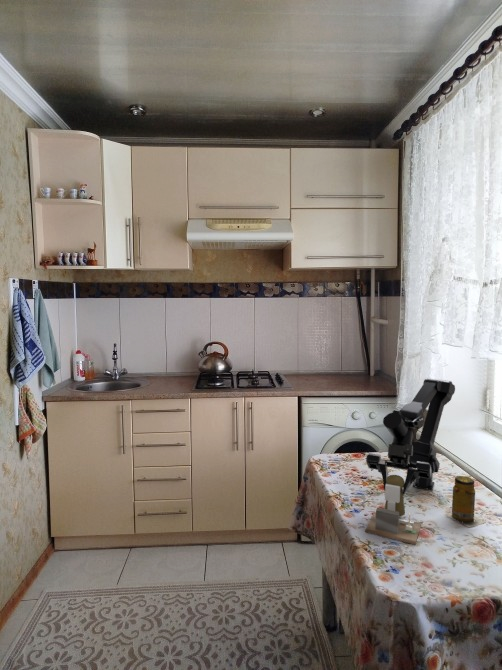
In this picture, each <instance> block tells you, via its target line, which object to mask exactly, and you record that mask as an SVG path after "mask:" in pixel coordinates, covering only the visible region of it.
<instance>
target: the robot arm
mask: <svg viewBox="0 0 502 670" xmlns="http://www.w3.org/2000/svg"><path fill="white" fill-rule="evenodd" d="M455 392H456V385H455V384H453V382H452V380H444V379H437V378H429V377H427V378H425V379H424V380H423V383H422V385H421V387H420V388H419V390H418V391H417V393H416V395H415V396H414V397H413V399H412V400H411V401H410V402H409V403H407V404H404V405H403V406H402V407H401V408H400V409H399V410H397V409H393V411H392V412H390V413H388V414H386V415H385V416H384V417H383V420H382V423H383V426H384V427H385V428H386V431H387V432H388V433H389V434H390V436H391V437H392V443H388V449H387V455H388V456H387V458H388V459H389V460H388V459H385V458H382V456H381V454H376V453H368V454H367V455H366V458H365V462H366V465H367V467H368V468H369V469H370V470H371V469H373V470H377V472H378V473H381V477H382V483H383V490H384V491H385V485H386V484H387V483H386V479H387V477H388V476H389V471H388V468H393V469H398V470H404V471H406V475H405V476H406V477H405V479H404V487H403V488H402V490H403V496H405V494H406V493H407V491H408V490H409V489H410V487H411V485H412V487H413V488H419V489H424V490H429V491H433V490H434V486H435V482H434V481H433V477H434V475H433V474H434V473H439V470H440V469H439V468H440V466H441V465H440V461H439V460H438V457H437V450H436V447H435V440H436V436H437V433H438V429H439V425H440V422H441V418H442V415H443V411H444V408H445V406H446V405H447V404H448V403H449V402H450V401H451V400H452V397H453V395H454V394H455ZM427 407H428V409H427ZM426 410H427V412H426V414H425V415H424V413H425V411H426ZM421 427H422V429H421V433H420V437H419V438H418V439H417V440H414V433H413V431H412V429H414V430H420V428H421Z"/></svg>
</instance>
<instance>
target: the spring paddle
mask: <svg viewBox="0 0 502 670" xmlns="http://www.w3.org/2000/svg"><path fill="white" fill-rule="evenodd" d="M384 500H385V501H386V500H387V501H388V507H387V510H392V511H395V502H396V503H399V502H400V486H395V485H390V484H386V485H385V490H384ZM413 521H414V520H410V525H412V526H414V522H415V521H414V522H413ZM399 523H403V524H407V525H408V519H405V520H404V518H401V519H399Z"/></svg>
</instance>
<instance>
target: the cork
mask: <svg viewBox="0 0 502 670" xmlns="http://www.w3.org/2000/svg"><path fill="white" fill-rule="evenodd" d="M386 483H387V484H390V485H395V486H400V502H399V503H396V502H395V511H396V512H399V518H400V517H403V516H405V514H406V510H405V509H406V508H405V500H404V495H403V487H404V484H405V479H404V477H402V476H401V475H398V474H390V475H388V477H387V479H386ZM387 507H388V501H387V500H385V502H384V508H383V509H387Z"/></svg>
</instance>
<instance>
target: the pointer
mask: <svg viewBox="0 0 502 670" xmlns="http://www.w3.org/2000/svg"><path fill="white" fill-rule="evenodd" d="M407 520H408V525H406V530H409V531H412V526H410V521H411V513H408V519H407Z"/></svg>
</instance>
